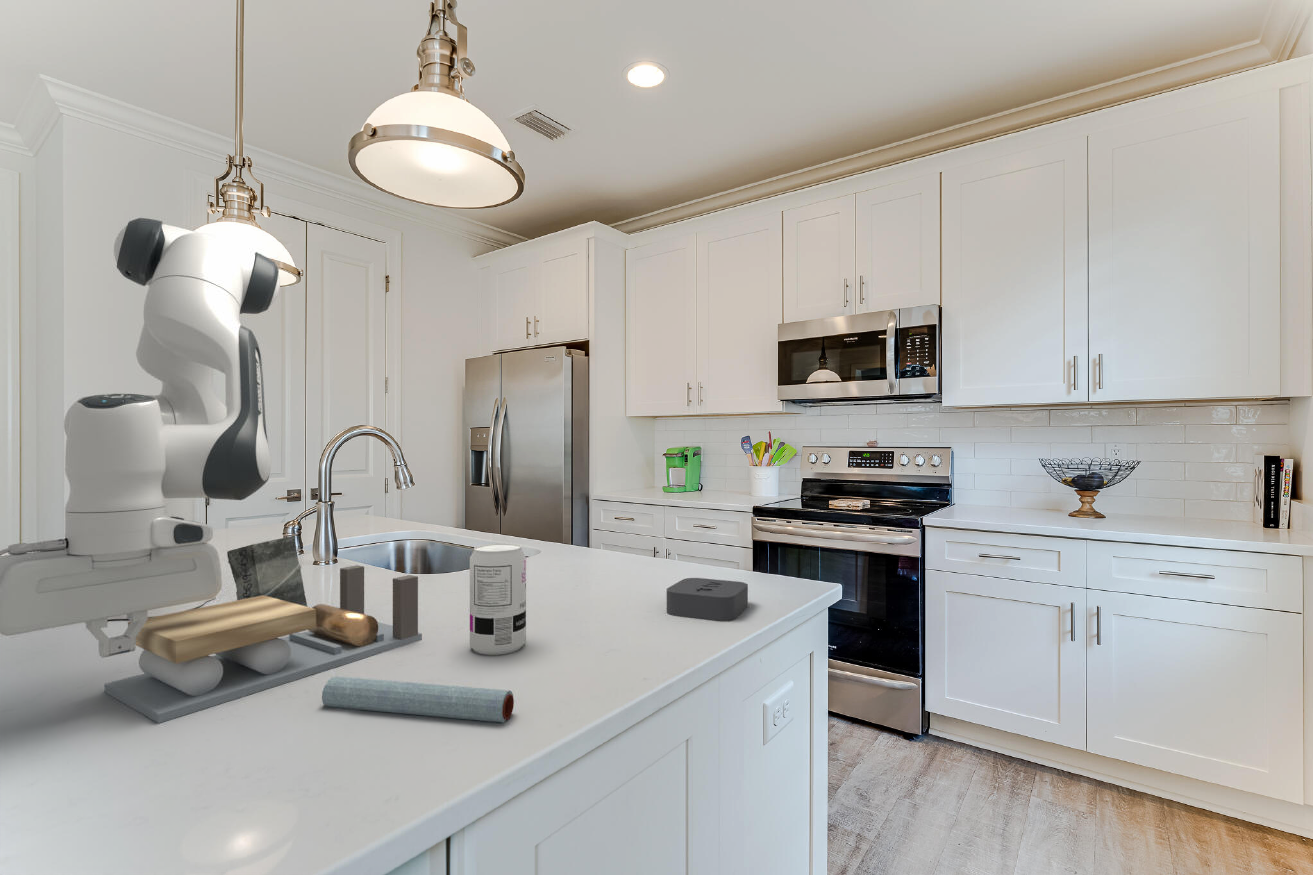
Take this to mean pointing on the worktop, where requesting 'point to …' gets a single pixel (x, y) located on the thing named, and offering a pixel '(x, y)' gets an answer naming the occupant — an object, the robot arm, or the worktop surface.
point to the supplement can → (497, 598)
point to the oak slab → (222, 627)
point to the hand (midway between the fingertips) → (117, 653)
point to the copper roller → (345, 625)
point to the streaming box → (707, 599)
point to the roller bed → (249, 679)
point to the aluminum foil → (419, 699)
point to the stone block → (268, 571)
